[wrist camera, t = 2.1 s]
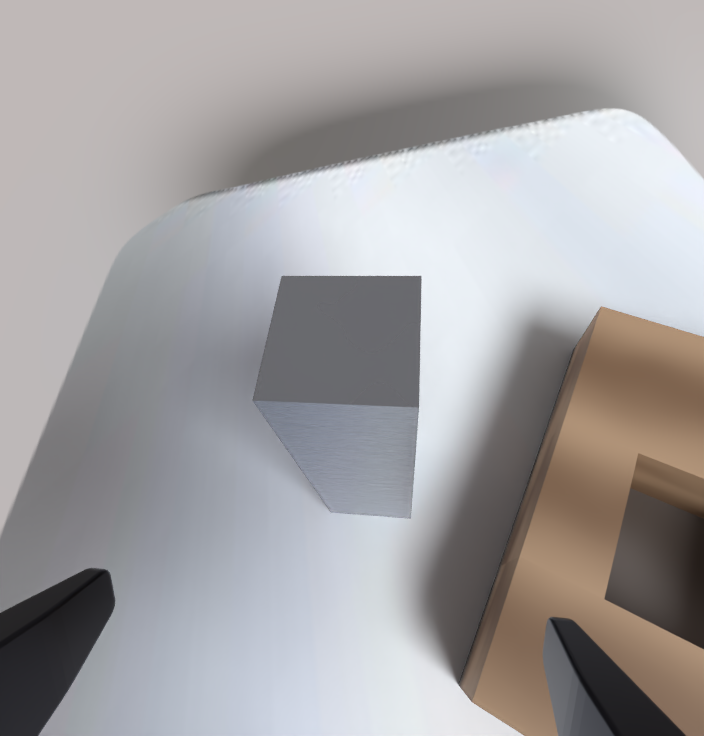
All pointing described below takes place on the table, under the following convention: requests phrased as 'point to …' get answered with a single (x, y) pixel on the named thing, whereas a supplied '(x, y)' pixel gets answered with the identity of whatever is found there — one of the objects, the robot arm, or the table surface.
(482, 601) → the table surface
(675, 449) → the bore block
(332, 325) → the grey rectangular block
